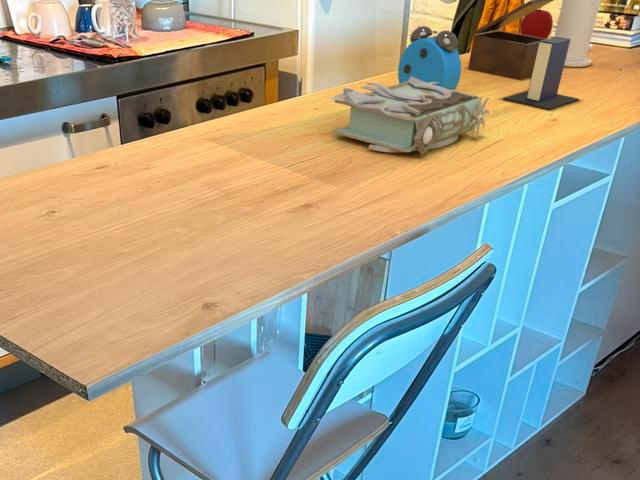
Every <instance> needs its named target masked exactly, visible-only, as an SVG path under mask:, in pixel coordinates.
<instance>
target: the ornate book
mask: <svg viewBox="0 0 640 480" xmlns="http://www.w3.org/2000/svg"><path fill="white" fill-rule="evenodd" d="M436 83H439V82H429V83H427V82H424V81H421V80H419V79H417V78H414V77H412V76H411V77H410V79H409V80H408V81H407V82H403V83H400V84H399V83H398V84H393V85H388V86H385V85H383V84H380V83H376V82H365V85H363V86H360V89H363V90H367V91H371V92H361V91H358V90H354V89H351V88H347V87H344V88H343V91H342V93H341V94H336V95H335V96H331V97H327V99H329V100H333V101H334V103H335V104H339V105H344V106H348V107H350V114H349V123H348V126H344V127H340V128H337V129H332V130H331V133H332V134H335V135H339V136H342V137H345V138H350V139H354V140H358V141H361V142H364V143H368V149H369V150H373V151H378V152H382V153H411V152H417V151H418V153H419V155H421V157H423V156H424V155H425V154H427V152H428V151H429V150H433V149H439V148H442V147H445V146H448V145H450V144H453V143H455V142H457V140H458V139H459V136H460V135H462V134H465V133H468V136H472V135H473V134H474V133H475V131H476V130H477V131H476V134H475V136H474V139H476V137H478V135H479V132H480V128H481V125H482V130H484V129H485V124H486V120H485V118H484V117H485V116H486V115H487V114H488V115H490V110H489V109H487V108H486V104H487V102H488V101H489V100H491V99H490V97H487V98H486V99H484V101H483V102H482V100H483V96H484V94H482V95H481V97H480V96H478V95H476V94H470V93H467V92H463V91H461V90H459V89H458V90H457V89H455V90H448V89H446V88H443V87H440V86H436V85H432V84H436ZM483 116H484V117H483Z"/></svg>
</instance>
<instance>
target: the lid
mask: <svg viewBox="0 0 640 480" xmlns="http://www.w3.org/2000/svg"><path fill="white" fill-rule="evenodd" d="M554 1H555V0H529V1H527V2H526V3H524V4H521V5H520V6H518V7H516V8H515V9H513V10H511V11H509V12H507V13H505V14H503V15H501V16H500V17H497V18H496V19H494V20H492V21H490V22H489V23H486V24H485V25H483V26H481V27H480V28H477V29H475V30H474V31H473V33H474V35H477V34H482V33H487V32H492V31H497V30H499V31H500V30H501V29H503V28H504V27H507V26H509V25H511V24H513V23H514V22H516V21H518V20H520V19H521V18H522V19H523V18H524V16H526V15H527V14H529V13H531V12H533V11H535V10H537V9H539V10H540V8H541V9H542V7H545V6H546V5H548V4H550V3H552V2H554Z"/></svg>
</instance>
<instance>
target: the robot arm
mask: <svg viewBox="0 0 640 480" xmlns="http://www.w3.org/2000/svg"><path fill="white" fill-rule="evenodd" d="M601 1H602V0H562V3H561V7H560V12H559V14H558V20H557V24H556V27H555V34H554V37H562V38H568V39H570V43H569V48H568V52H567V56H566V60H565V64H564V67H569V68H570V67H571V68H585V67H588V66H590V65H591V63H592V59H591V58H590V57H587V56H588V52H589V53H590V52H591V51H592V50H593V44H592V43H591V40H592V37H593V32H594V28H595V25H596V21H597V17H598V14H599V10H600V6H601V3H602V2H601Z"/></svg>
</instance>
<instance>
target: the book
mask: <svg viewBox="0 0 640 480" xmlns="http://www.w3.org/2000/svg"><path fill="white" fill-rule="evenodd" d="M569 43H570V39H568V38H562V37H548V38H547V39H544V40H540V41H539V44H538V49H537V53H536V58H535V62H534V67H533V71H532V76H531V77H530V81H529V85H528V88H527V91H528V94H527V98H526V99H527V100H531V101H536V102H542V101H545V100H548V99H552V98H555V97H557V94H558V93H559V92H558V91H559V88H560V84H561V79H562V76H563V71H564V68H565V66H564V64H565V60H566V56H567V52H568V48H569Z"/></svg>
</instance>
